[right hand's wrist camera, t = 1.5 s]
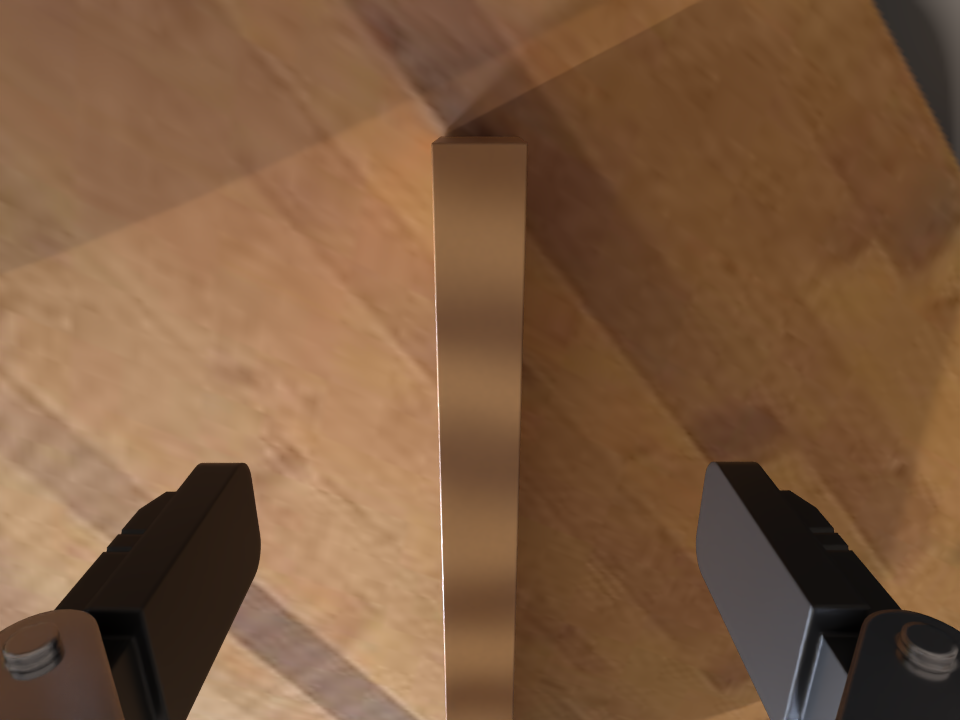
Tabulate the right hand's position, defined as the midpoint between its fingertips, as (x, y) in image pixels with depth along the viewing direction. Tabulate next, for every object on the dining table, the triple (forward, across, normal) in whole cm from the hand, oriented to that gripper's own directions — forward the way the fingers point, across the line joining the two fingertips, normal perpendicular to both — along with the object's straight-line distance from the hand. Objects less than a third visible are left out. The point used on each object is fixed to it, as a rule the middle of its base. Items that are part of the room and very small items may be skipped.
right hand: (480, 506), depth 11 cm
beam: (+27, 0, -20) cm, 34 cm away
